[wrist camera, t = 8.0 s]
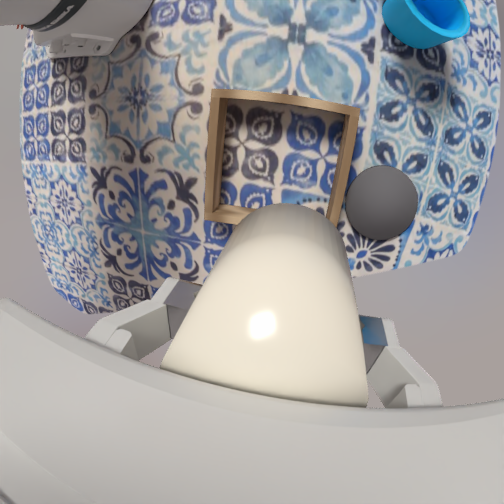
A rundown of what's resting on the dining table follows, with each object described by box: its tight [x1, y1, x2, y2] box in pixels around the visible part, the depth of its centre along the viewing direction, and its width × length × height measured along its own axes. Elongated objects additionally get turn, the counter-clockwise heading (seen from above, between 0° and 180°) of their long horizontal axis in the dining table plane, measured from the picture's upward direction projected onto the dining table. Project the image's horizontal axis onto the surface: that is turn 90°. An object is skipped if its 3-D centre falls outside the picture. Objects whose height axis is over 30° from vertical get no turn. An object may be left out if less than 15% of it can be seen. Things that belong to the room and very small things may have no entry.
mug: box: [382, 0, 470, 49], centre depth 16 cm, size 12×8×8 cm
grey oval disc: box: [345, 165, 418, 240], centre depth 32 cm, size 10×10×1 cm
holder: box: [204, 89, 360, 227], centre depth 31 cm, size 16×16×4 cm
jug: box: [160, 203, 368, 408], centre depth 11 cm, size 9×6×8 cm
